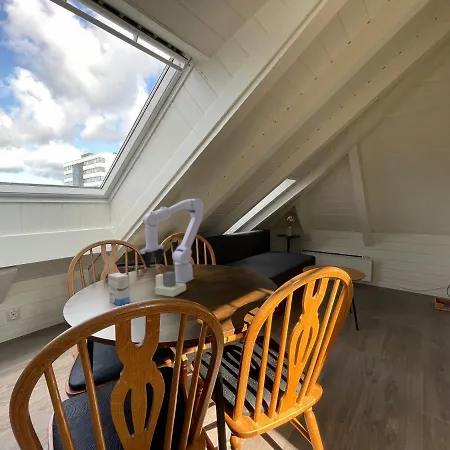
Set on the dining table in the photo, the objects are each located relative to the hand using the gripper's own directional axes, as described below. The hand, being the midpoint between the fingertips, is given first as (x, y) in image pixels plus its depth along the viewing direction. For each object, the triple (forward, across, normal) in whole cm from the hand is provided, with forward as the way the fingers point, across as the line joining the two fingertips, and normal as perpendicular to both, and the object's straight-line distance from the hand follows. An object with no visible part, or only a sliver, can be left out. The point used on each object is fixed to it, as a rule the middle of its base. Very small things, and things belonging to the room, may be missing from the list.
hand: (153, 265), depth 138 cm
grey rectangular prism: (+7, +4, +12) cm, 15 cm away
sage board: (+10, +4, +13) cm, 17 cm away
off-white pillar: (+10, -1, +4) cm, 11 cm away
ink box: (+11, +23, +1) cm, 25 cm away
